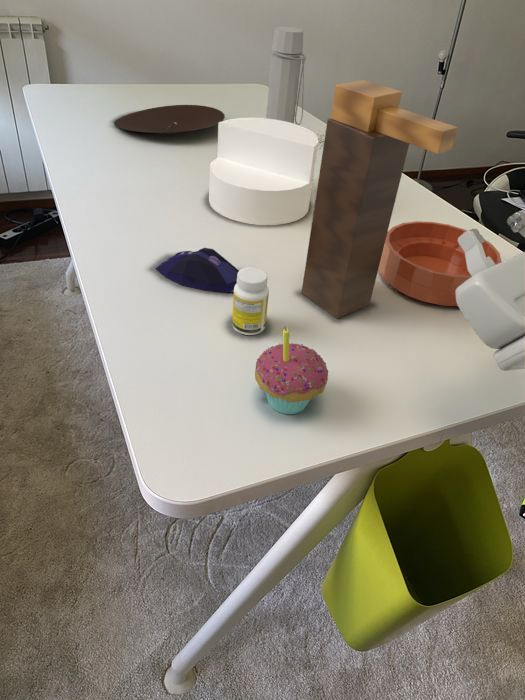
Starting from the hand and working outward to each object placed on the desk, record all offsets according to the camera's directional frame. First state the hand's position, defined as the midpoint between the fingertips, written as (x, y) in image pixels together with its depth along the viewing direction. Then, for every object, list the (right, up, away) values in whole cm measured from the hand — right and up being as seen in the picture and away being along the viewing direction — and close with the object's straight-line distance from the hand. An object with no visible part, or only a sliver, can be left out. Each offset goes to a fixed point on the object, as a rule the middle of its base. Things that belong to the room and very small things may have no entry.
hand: (491, 223), depth 60 cm
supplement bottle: (-27, -11, +17) cm, 34 cm away
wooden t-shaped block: (-10, +13, +7) cm, 17 cm away
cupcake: (-22, -20, +6) cm, 30 cm away
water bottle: (-20, +39, +80) cm, 91 cm away
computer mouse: (-34, -2, +27) cm, 44 cm away
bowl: (+3, -2, +32) cm, 32 cm away
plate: (-49, +43, +82) cm, 105 cm away
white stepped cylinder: (-26, +16, +50) cm, 58 cm away
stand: (-14, -6, +25) cm, 29 cm away
